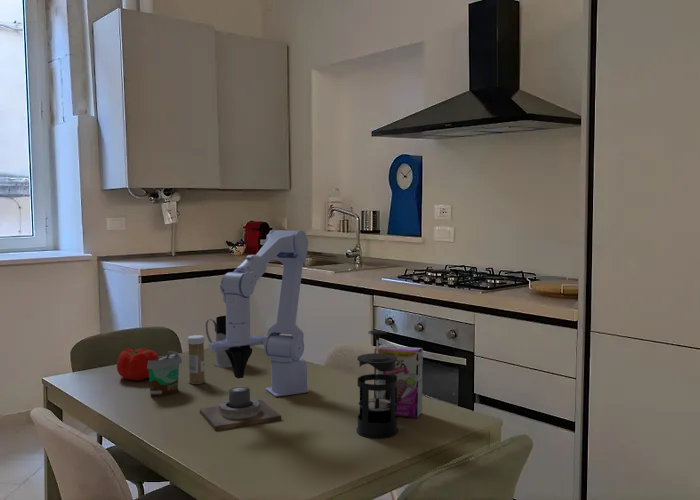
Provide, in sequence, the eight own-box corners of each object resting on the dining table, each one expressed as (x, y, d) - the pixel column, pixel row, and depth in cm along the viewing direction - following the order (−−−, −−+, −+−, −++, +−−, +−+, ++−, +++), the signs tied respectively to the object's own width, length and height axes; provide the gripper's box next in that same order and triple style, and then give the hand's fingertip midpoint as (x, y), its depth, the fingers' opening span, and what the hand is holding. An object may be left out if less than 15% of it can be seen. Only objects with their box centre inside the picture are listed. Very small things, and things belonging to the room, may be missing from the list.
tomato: (170, 376, 196) (169, 347, 195) (136, 386, 185) (135, 356, 185) (141, 370, 202) (140, 343, 202) (107, 379, 192) (106, 351, 191)
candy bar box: (373, 414, 160) (373, 348, 159) (379, 408, 165) (379, 344, 164) (418, 419, 157) (418, 351, 155) (422, 413, 161) (423, 347, 160)
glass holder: (229, 368, 204) (228, 320, 203) (196, 362, 212) (195, 316, 210) (248, 362, 211) (247, 316, 210) (216, 357, 219) (215, 312, 218)
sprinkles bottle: (208, 382, 189) (207, 336, 188) (194, 385, 185) (193, 338, 184) (199, 379, 192) (198, 334, 191) (185, 382, 189) (184, 336, 188)
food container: (169, 399, 173) (168, 362, 172) (147, 398, 174) (146, 361, 173) (189, 386, 185) (189, 351, 184) (169, 385, 186) (168, 350, 185)
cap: (244, 407, 163) (243, 385, 162) (253, 412, 159) (253, 390, 158) (225, 411, 160) (225, 389, 159) (235, 416, 156) (234, 393, 155)
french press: (379, 442, 142) (379, 337, 140) (346, 432, 148) (345, 331, 146) (410, 428, 151) (411, 329, 149) (377, 419, 157) (378, 324, 155)
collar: (261, 403, 169) (261, 392, 169) (281, 419, 157) (281, 407, 156) (199, 412, 162) (199, 400, 162) (215, 430, 149) (215, 417, 149)
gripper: (257, 316, 166) (258, 369, 167) (203, 322, 158) (204, 378, 159) (270, 320, 160) (271, 375, 161) (214, 327, 152) (216, 385, 153)
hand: (238, 377), depth 159 cm, fingers closed
